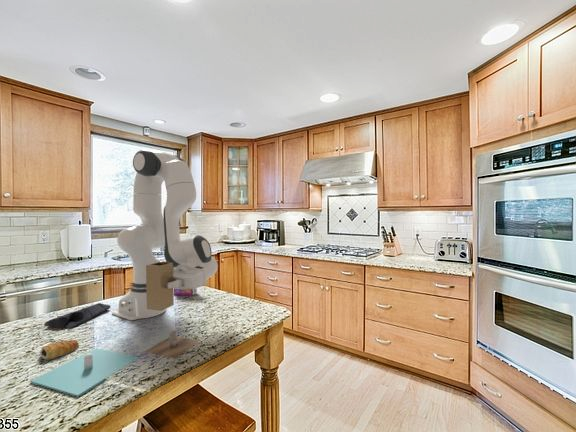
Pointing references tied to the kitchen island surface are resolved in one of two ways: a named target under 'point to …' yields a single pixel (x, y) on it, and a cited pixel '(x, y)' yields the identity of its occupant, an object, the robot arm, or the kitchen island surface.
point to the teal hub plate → (84, 372)
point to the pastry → (58, 349)
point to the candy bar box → (184, 290)
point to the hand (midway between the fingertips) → (158, 285)
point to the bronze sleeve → (159, 286)
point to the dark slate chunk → (77, 316)
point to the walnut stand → (172, 346)
